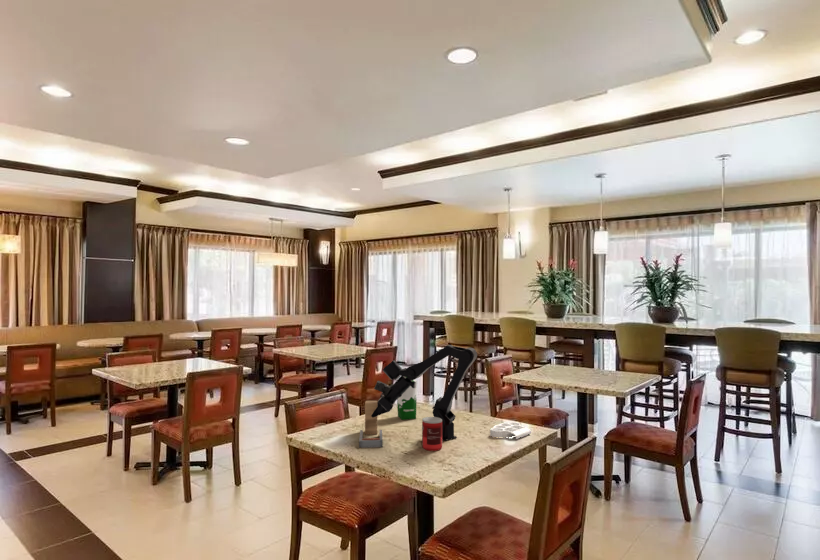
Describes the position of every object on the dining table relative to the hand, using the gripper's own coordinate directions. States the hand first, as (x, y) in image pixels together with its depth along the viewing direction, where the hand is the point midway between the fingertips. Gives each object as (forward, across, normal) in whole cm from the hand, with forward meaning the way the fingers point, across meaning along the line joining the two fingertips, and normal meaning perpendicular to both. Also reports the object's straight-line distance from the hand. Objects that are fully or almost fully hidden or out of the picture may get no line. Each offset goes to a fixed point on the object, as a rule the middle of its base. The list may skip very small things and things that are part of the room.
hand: (373, 414), depth 206 cm
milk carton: (-4, -26, +15) cm, 30 cm away
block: (+6, 0, +5) cm, 8 cm away
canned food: (-12, +20, +23) cm, 33 cm away
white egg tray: (-34, 0, +47) cm, 58 cm away
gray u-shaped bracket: (+5, +12, +6) cm, 15 cm away
